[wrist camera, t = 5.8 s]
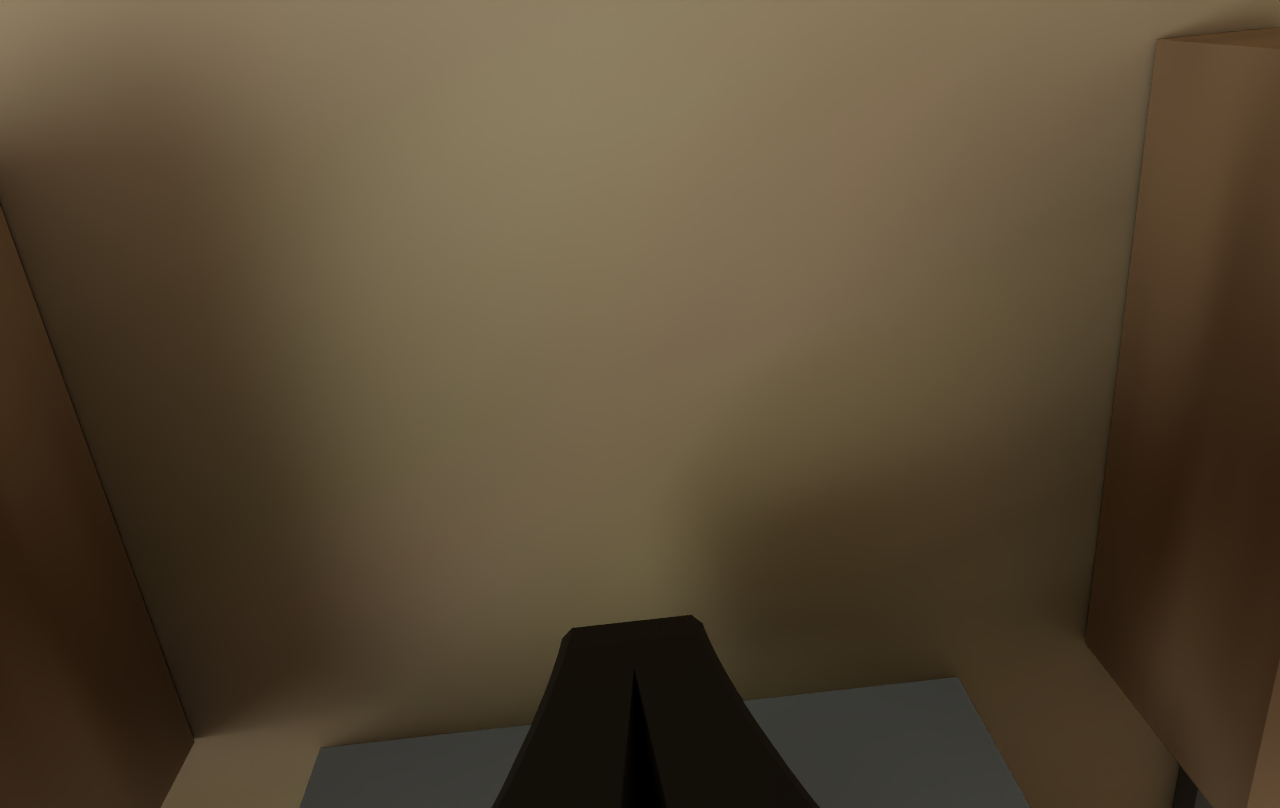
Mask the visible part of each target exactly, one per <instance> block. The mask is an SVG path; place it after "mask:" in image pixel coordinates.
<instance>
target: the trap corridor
mask: <svg viewBox="0 0 1280 808" xmlns="http://www.w3.org/2000/svg"><path fill="white" fill-rule="evenodd" d="M1085 643H1086V644H1087V646H1088V647H1089V648H1090V650H1091V651H1092V652H1093V654H1094V655H1095V656H1096V657H1097V659H1098V660H1099V661H1100V663H1101V664H1102V665H1103V666H1104V668H1105V669H1106V670H1107V672H1108V673H1109V674H1110V675H1111V677H1112V678H1113V679H1114V681H1115V682H1116V683H1117V684H1118V686H1119V687H1120V688H1121V690H1122V691H1123V692H1124V693H1125V695H1126V696H1127V697H1128V699H1129V700H1130V701H1131V702H1132V704H1133V705H1134V706H1135V708H1136V709H1137V710H1138V711H1139V713H1140V714H1141V715H1142V717H1143V718H1144V719H1145V721H1146V722H1147V723H1148V724H1149V726H1150V727H1151V728H1152V730H1153V731H1154V732H1155V733H1156V735H1157V736H1158V737H1159V739H1160V740H1161V741H1162V742H1163V744H1164V745H1165V746H1166V748H1167V749H1168V750H1169V751H1170V753H1171V754H1172V755H1173V757H1174V758H1175V759H1176V760H1177V762H1178V763H1179V764H1180V770H1179V775H1178V781H1177V786H1176V792H1175V798H1174V803H1173V808H1280V27H1275V28H1265V29H1256V30H1246V31H1236V32H1226V33H1216V34H1206V35H1197V36H1187V37H1177V38H1167V39H1157V42H1156V50H1155V59H1154V67H1153V76H1152V84H1151V92H1150V101H1149V109H1148V118H1147V126H1146V135H1145V143H1144V151H1143V160H1142V168H1141V177H1140V185H1139V194H1138V202H1137V210H1136V219H1135V227H1134V236H1133V244H1132V252H1131V261H1130V269H1129V278H1128V286H1127V295H1126V303H1125V311H1124V320H1123V328H1122V337H1121V345H1120V354H1119V362H1118V370H1117V379H1116V387H1115V396H1114V404H1113V413H1112V421H1111V429H1110V438H1109V446H1108V455H1107V463H1106V471H1105V480H1104V488H1103V497H1102V505H1101V514H1100V522H1099V530H1098V539H1097V547H1096V556H1095V564H1094V573H1093V581H1092V589H1091V598H1090V606H1089V615H1088V623H1087V632H1086V640H1085ZM193 744H194V739H193V736H192V734H191V731H190V728H189V725H188V722H187V720H186V717H185V714H184V711H183V709H182V706H181V703H180V700H179V698H178V695H177V692H176V689H175V687H174V684H173V681H172V678H171V676H170V673H169V670H168V667H167V664H166V662H165V659H164V656H163V653H162V651H161V648H160V645H159V642H158V640H157V637H156V634H155V631H154V629H153V626H152V623H151V620H150V618H149V615H148V612H147V609H146V606H145V604H144V601H143V598H142V595H141V593H140V590H139V587H138V584H137V582H136V579H135V576H134V573H133V571H132V568H131V565H130V562H129V560H128V557H127V554H126V551H125V549H124V546H123V543H122V540H121V537H120V535H119V532H118V529H117V526H116V524H115V521H114V518H113V515H112V513H111V510H110V507H109V504H108V502H107V499H106V496H105V493H104V491H103V488H102V485H101V482H100V479H99V477H98V474H97V471H96V468H95V466H94V463H93V460H92V457H91V455H90V452H89V449H88V446H87V444H86V441H85V438H84V435H83V433H82V430H81V427H80V424H79V421H78V419H77V416H76V413H75V410H74V408H73V405H72V402H71V399H70V397H69V394H68V391H67V388H66V386H65V383H64V380H63V377H62V375H61V372H60V369H59V366H58V363H57V361H56V358H55V355H54V352H53V350H52V347H51V344H50V341H49V339H48V336H47V333H46V330H45V328H44V325H43V322H42V319H41V317H40V314H39V311H38V308H37V305H36V303H35V300H34V297H33V294H32V292H31V289H30V286H29V283H28V281H27V278H26V275H25V272H24V270H23V267H22V264H21V261H20V259H19V256H18V253H17V250H16V247H15V245H14V242H13V239H12V236H11V234H10V231H9V228H8V225H7V223H6V220H5V217H4V214H3V212H2V209H1V206H0V808H160V807H161V805H162V803H163V802H164V800H165V798H166V796H167V794H168V792H169V790H170V788H171V786H172V784H173V782H174V780H175V778H176V776H177V775H178V773H179V771H180V769H181V767H182V765H183V763H184V761H185V759H186V757H187V755H188V753H189V751H190V750H191V748H192V746H193Z"/></svg>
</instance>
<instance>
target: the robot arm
mask: <svg viewBox="0 0 1280 808" xmlns="http://www.w3.org/2000/svg"><path fill="white" fill-rule="evenodd" d="M491 808H820V807H819V806H818V805H817V803H816V802H815V801H814V800H813V798H812V797H811V796H810V795H809V793H808V792H807V791H806V789H805V788H804V787H803V785H802V784H801V783H800V781H799V780H798V779H797V777H796V776H795V775H794V774H793V772H792V771H791V770H790V768H789V767H788V765H787V764H786V763H785V761H784V760H783V758H782V757H781V756H780V754H779V753H778V751H777V750H776V748H775V747H774V746H773V744H772V743H771V741H770V740H769V739H768V737H767V736H766V734H765V733H764V731H763V730H762V729H761V727H760V726H759V724H758V723H757V721H756V720H755V718H754V717H753V715H752V714H751V712H750V711H749V709H748V708H747V706H746V705H745V703H744V701H743V700H742V698H741V697H740V695H739V693H738V692H737V690H736V688H735V687H734V685H733V683H732V682H731V680H730V678H729V677H728V675H727V673H726V671H725V670H724V668H723V666H722V664H721V662H720V661H719V659H718V657H717V655H716V653H715V651H714V649H713V647H712V645H711V643H710V640H709V638H708V636H707V634H706V631H705V629H704V626H703V623H701V622H700V621H699V620H697V619H696V618H695V617H693V616H692V615H686V616H677V617H668V618H659V619H650V620H641V621H632V622H623V623H614V624H604V625H595V626H586V627H577V628H572V629H571V630H570V631H569V632H568V633H567V634H566V635H565V636H564V637H563V638H562V641H561V645H560V649H559V653H558V656H557V659H556V662H555V665H554V668H553V671H552V674H551V677H550V680H549V682H548V685H547V688H546V690H545V693H544V696H543V698H542V700H541V703H540V705H539V708H538V710H537V712H536V715H535V717H534V720H533V722H532V725H531V727H530V729H529V731H528V733H527V735H526V738H525V740H524V742H523V744H522V746H521V748H520V750H519V752H518V755H517V757H516V759H515V761H514V763H513V765H512V767H511V770H510V772H509V774H508V776H507V778H506V780H505V782H504V784H503V786H502V788H501V790H500V792H499V794H498V796H497V798H496V800H495V802H494V804H493V806H492V807H491Z"/></svg>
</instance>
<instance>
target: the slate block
mask: <svg viewBox="0 0 1280 808" xmlns="http://www.w3.org/2000/svg"><path fill="white" fill-rule="evenodd" d="M744 703H745V705H746V706H747V708H748V709H749V711H750V712H751V714H752V715H753V717H754V718H755V720H756V721H757V723H758V724H759V726H760V727H761V729H762V730H763V731H764V733H765V734H766V736H767V737H768V739H769V740H770V741H771V743H772V744H773V746H774V747H775V748H776V750H777V751H778V753H779V754H780V756H781V757H782V758H783V760H784V761H785V763H786V764H787V765H788V767H789V768H790V770H791V771H792V772H793V774H794V775H795V776H796V777H797V779H798V780H799V781H800V783H801V784H802V785H803V787H804V788H805V789H806V791H807V792H808V793H809V795H810V796H811V797H812V798H813V800H814V801H815V802H816V803H817V805H818V806H819V807H820V808H1030V806H1029V804H1028V802H1027V801H1026V799H1025V797H1024V795H1023V793H1022V792H1021V790H1020V788H1019V786H1018V784H1017V783H1016V781H1015V779H1014V777H1013V775H1012V774H1011V772H1010V770H1009V768H1008V766H1007V765H1006V763H1005V761H1004V759H1003V757H1002V756H1001V754H1000V752H999V750H998V748H997V747H996V745H995V743H994V741H993V739H992V737H991V736H990V734H989V732H988V730H987V728H986V727H985V725H984V723H983V721H982V719H981V718H980V716H979V714H978V712H977V710H976V709H975V707H974V705H973V703H972V701H971V700H970V698H969V696H968V694H967V692H966V691H965V689H964V687H963V685H962V683H961V682H960V680H959V678H958V677H952V678H943V679H934V680H925V681H916V682H907V683H898V684H889V685H880V686H871V687H862V688H853V689H844V690H835V691H826V692H817V693H808V694H799V695H790V696H781V697H773V698H764V699H755V700H746V701H744ZM531 725H532V724H531ZM531 725H522V726H513V727H504V728H495V729H486V730H477V731H468V732H459V733H450V734H441V735H432V736H423V737H415V738H406V739H397V740H388V741H379V742H370V743H361V744H352V745H343V746H334V747H325V748H320V750H319V753H318V756H317V759H316V762H315V765H314V768H313V771H312V774H311V776H310V779H309V782H308V785H307V788H306V791H305V794H304V797H303V800H302V802H301V805H300V808H491V807H492V806H493V804H494V802H495V800H496V798H497V796H498V794H499V792H500V790H501V788H502V786H503V784H504V782H505V780H506V778H507V776H508V774H509V772H510V770H511V767H512V765H513V763H514V761H515V759H516V757H517V755H518V752H519V750H520V748H521V746H522V744H523V742H524V740H525V738H526V735H527V733H528V731H529V729H530V727H531Z"/></svg>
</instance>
